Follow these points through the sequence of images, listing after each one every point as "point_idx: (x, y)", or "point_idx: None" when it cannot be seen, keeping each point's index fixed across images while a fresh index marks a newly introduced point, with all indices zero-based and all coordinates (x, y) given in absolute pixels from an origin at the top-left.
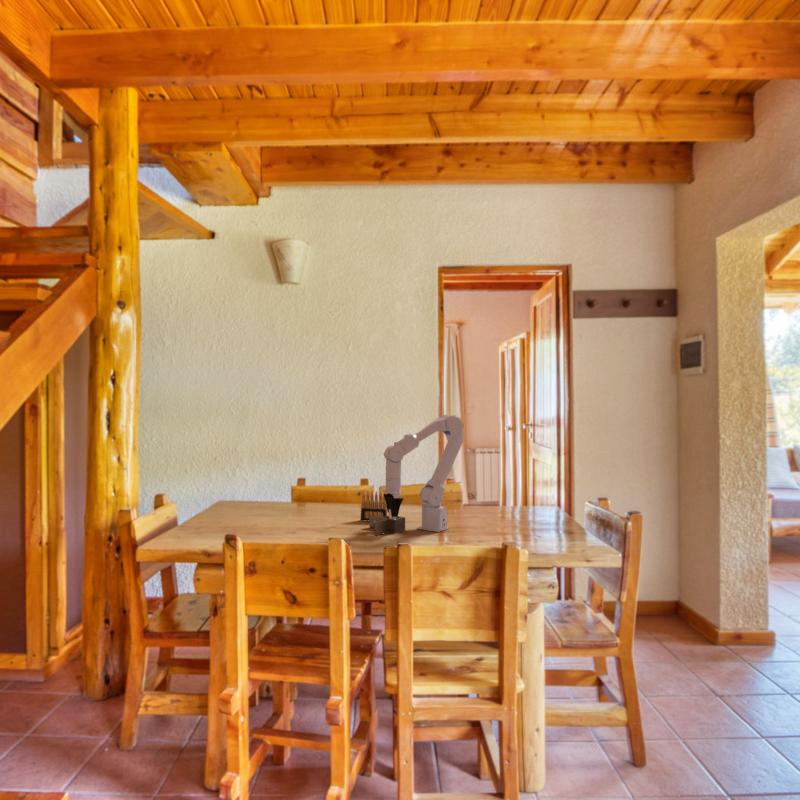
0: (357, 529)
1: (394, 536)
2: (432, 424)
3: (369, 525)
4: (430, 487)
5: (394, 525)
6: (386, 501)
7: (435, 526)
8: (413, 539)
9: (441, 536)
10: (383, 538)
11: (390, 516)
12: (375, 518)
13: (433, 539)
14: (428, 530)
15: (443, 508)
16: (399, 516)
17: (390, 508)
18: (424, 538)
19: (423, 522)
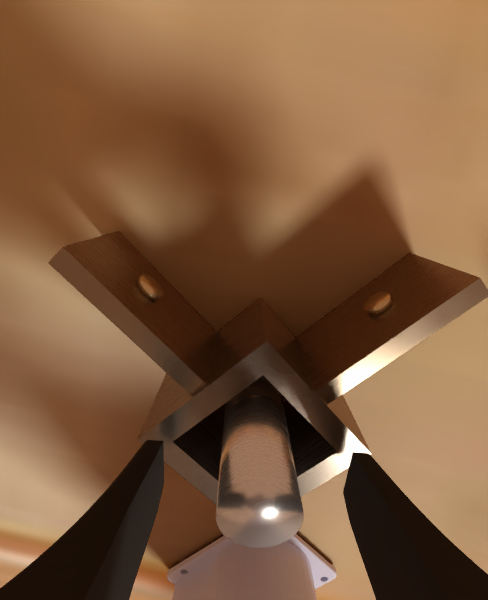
0: (377, 138)
1: (89, 351)
2: None
3: (416, 257)
4: None
5: (155, 404)
6: (429, 574)
7: (189, 595)
8: (4, 430)
9: None
10: (29, 269)
11: (232, 435)
12: (395, 317)
13: (8, 513)
14: (208, 545)
15: None
16: None
17: (130, 506)
18: (31, 483)
19: (243, 576)
